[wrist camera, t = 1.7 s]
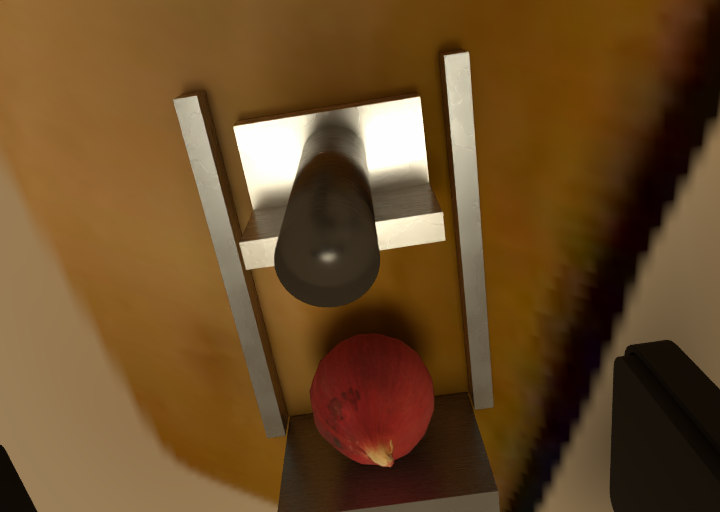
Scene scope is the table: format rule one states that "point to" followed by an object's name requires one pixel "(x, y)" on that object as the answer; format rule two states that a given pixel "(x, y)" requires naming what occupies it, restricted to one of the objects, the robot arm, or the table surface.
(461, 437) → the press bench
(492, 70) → the table surface
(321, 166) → the carriage
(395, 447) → the pomegranate
